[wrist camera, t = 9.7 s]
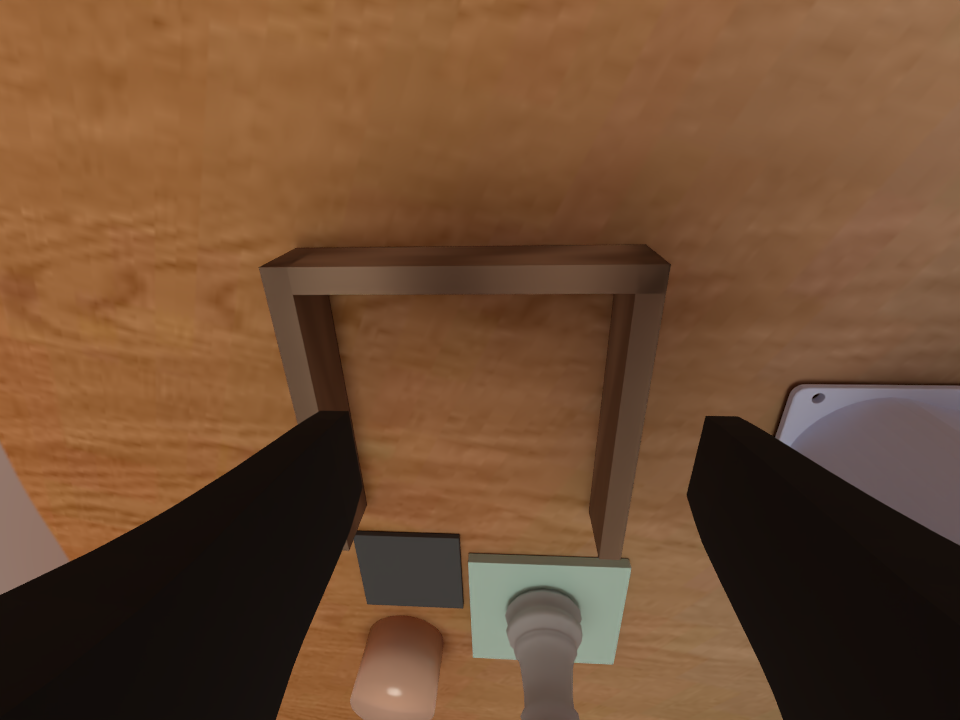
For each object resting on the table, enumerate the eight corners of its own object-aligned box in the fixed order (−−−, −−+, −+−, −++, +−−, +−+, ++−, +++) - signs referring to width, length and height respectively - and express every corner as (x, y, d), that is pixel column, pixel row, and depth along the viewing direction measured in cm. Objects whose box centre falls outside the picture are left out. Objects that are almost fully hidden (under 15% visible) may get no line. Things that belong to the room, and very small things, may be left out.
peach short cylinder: (441, 616, 29) (431, 685, 25) (446, 662, 31) (437, 731, 27) (364, 613, 29) (343, 680, 25) (374, 659, 31) (357, 727, 28)
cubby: (645, 244, 17) (670, 264, 15) (608, 511, 24) (620, 560, 21) (295, 248, 18) (258, 267, 16) (349, 504, 24) (329, 549, 22)
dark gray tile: (459, 534, 25) (458, 538, 25) (463, 603, 28) (463, 608, 27) (354, 530, 25) (352, 535, 25) (368, 599, 28) (367, 604, 28)
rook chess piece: (559, 640, 28) (576, 815, 21) (493, 620, 27) (487, 791, 20) (594, 598, 26) (626, 775, 19) (523, 575, 25) (528, 748, 18)
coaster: (628, 559, 25) (631, 568, 24) (611, 654, 29) (613, 664, 29) (469, 553, 26) (468, 562, 25) (473, 647, 30) (473, 657, 29)
